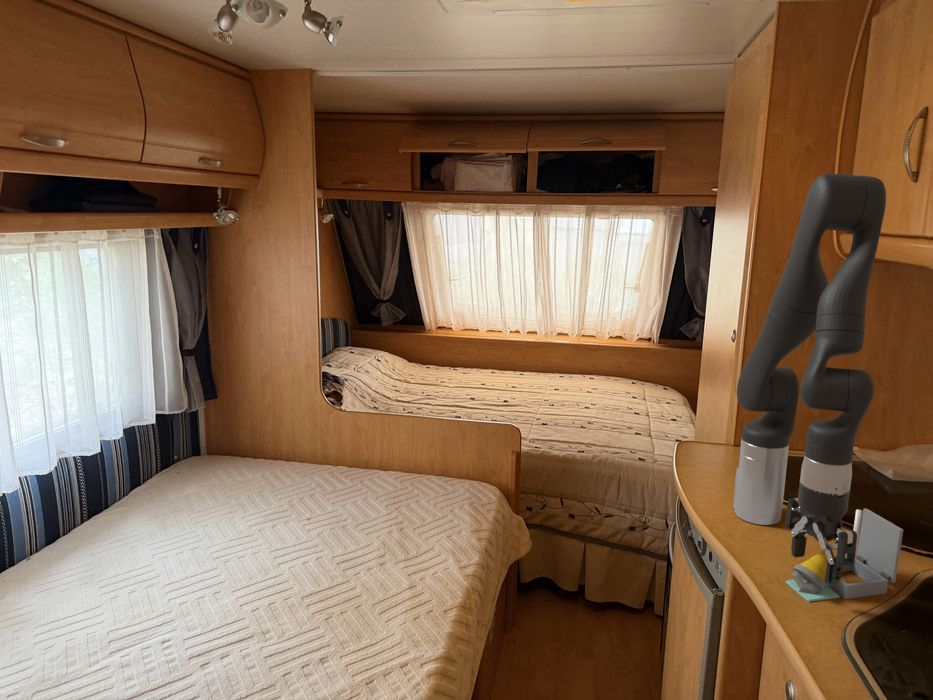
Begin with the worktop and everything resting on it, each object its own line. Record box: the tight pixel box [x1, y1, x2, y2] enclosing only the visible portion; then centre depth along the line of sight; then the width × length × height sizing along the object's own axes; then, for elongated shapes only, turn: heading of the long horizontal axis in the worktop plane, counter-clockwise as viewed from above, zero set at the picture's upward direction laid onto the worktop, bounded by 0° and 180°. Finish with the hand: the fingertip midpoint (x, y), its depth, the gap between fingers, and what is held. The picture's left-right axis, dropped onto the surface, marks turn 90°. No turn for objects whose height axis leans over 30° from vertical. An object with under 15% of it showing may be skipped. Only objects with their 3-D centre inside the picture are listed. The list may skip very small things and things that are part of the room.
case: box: [824, 507, 904, 600], centre depth 118 cm, size 10×10×12 cm
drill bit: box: [791, 550, 828, 594], centre depth 116 cm, size 5×5×10 cm
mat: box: [785, 578, 840, 603], centre depth 116 cm, size 6×6×1 cm
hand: (814, 568), depth 115 cm, fingers open, 8 cm apart
